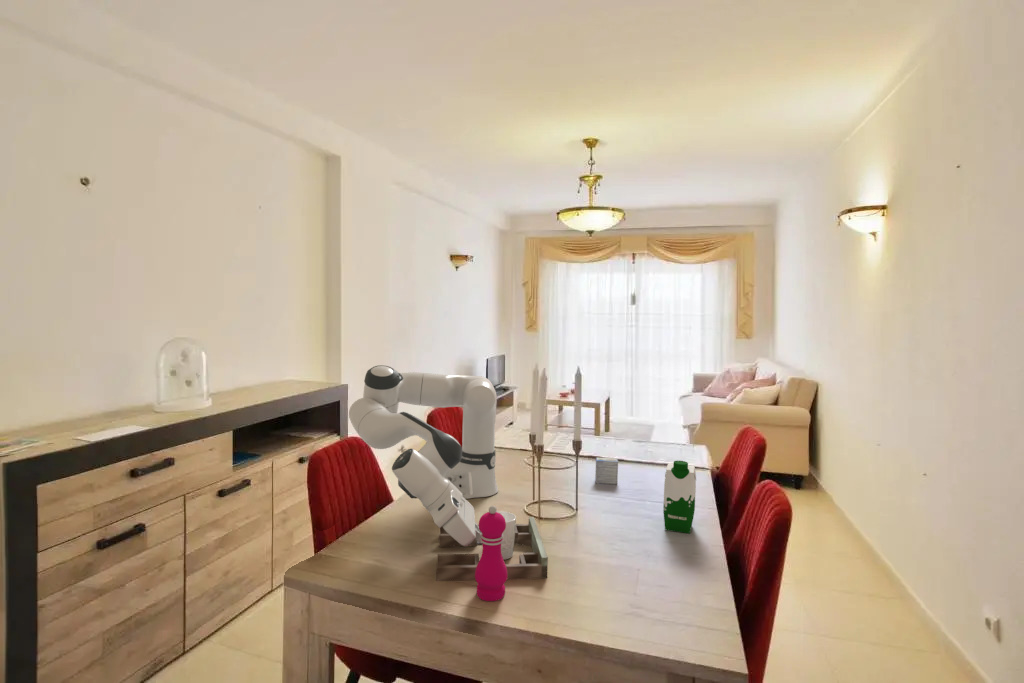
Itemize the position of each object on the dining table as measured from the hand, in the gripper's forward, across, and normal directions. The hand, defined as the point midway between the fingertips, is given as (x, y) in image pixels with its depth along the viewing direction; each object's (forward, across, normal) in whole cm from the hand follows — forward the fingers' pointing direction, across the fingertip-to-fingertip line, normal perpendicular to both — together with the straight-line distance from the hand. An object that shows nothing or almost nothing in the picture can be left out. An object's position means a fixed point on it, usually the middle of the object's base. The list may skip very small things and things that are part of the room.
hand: (483, 539), depth 141 cm
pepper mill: (+4, +19, -2) cm, 19 cm away
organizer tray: (+4, 0, -2) cm, 5 cm away
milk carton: (+44, -17, +38) cm, 61 cm away
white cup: (+6, -1, 0) cm, 6 cm away
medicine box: (+36, -58, +30) cm, 75 cm away
